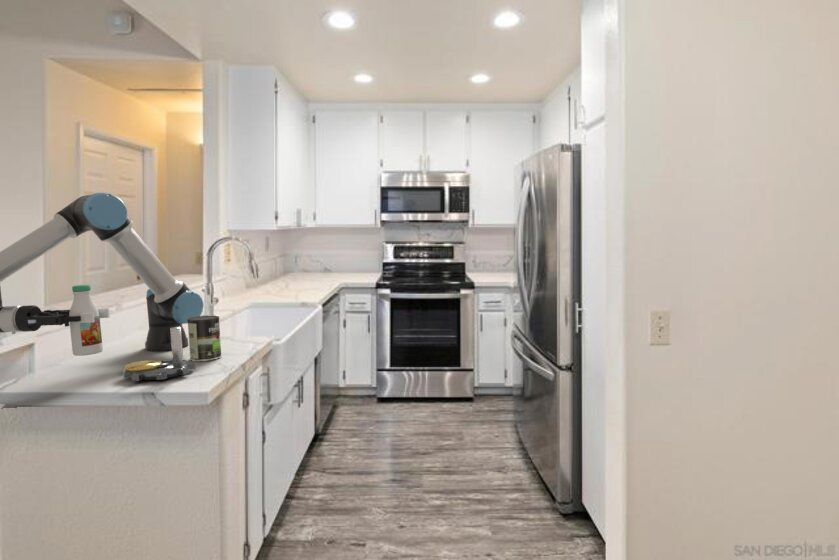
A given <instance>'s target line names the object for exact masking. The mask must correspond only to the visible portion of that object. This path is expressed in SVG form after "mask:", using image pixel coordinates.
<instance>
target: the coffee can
mask: <svg viewBox="0 0 839 560" xmlns="http://www.w3.org/2000/svg"><path fill="white" fill-rule="evenodd" d="M187 321H188V323H187V328H188V346H189V361H191V360H192V361H191V362H195V361H203V362H208V361H207V360H212V361H214V360H213V359H216V360H219V359H221V358H222V357H223V356H222V346H221V344H222V343H221V331H220V330H221V328H220V316H218V315H200V316H199V317H192V318H189V319H187ZM220 357H221V358H220ZM218 358H219V359H218Z"/></svg>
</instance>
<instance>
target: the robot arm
mask: <svg viewBox="0 0 839 560" xmlns="http://www.w3.org/2000/svg"><path fill="white" fill-rule="evenodd" d="M132 224H133V219H132V218H131V217H130V216H129V214H128V208H127V206H126V204H125V202H124V201H123V200H122V199H121V198H120V197H118V196H117V195H115V194H111V193H107V192H97V193H93V194H86V195H83V196H80V197H78V198H76V199H75V200H73V201H72V202H71V203H69V204H68V205H66V206H65V207H63V208H62V209H61V210H59V211H58V212H56V213H54V214H53V218H52V219H50V220H49V221H47V222H45V223H44V224H42V225H41V226H39V227H38V228H37V229H35V230H33V231H32V232H30V233H28V234H27V235H25V236H24V237H22V238H20V239H18V240H17V241H15V242H14V243H12V244H10V245H9V246H7V247H6V248H4V249H2V250H0V283H1V282H3V281H5V280H6V279H7V278H9V277H11V276H12V275H13V274H15V273H17V272H18V271H20V270H22V269H23V268H25V267H26V266H28V265H29V264H31V263H33V262H34V261H36V260H37V259H39V258H40V257H41V256H43V255H45V254H46V253H48V252H50V251H52V250H53V249H54V248H56V247H57V246H59V245H61V244H62V243H64V242H66V241H67V240H68V239H69V238H71V239H75V238H77V237H78V236H80V235H83V234H84V233H87V232H90V231H92V232H93V233H94V234H95V236H97V238H98V239H99V240H100V241H101V242H104V243H105V242H108V243H109V244H110V245H111V246H112V247H113V248H114V250H115V251H116V252H117V254H119V255H120V257H121V258H122V259H123V260H124V261H125V262H126V263H127V265H128V266H129V267H130V268H131V269H132V270H133V271H134V272H135V274H136V275H137V276H138V277H139V278H140V280H141V281H142V282H143V283H144V284H145V285H146V286H147V288H148V289H147V291H146V297H145V300H146V306H147V319H148V331H147V335H146V339H145V340H146V341H145V343H144V347H145V350H146V351H148V352H149V351H152V352H160V351H161V352H164V351H172V346H171V332H170V328H172V327H181V335H182V349H183V348H186V347H188V346H189V337H187V334H186V332H185V329H184V326H183V324H184V325H185V324H188V321H187V319H189V318H192V317H199V316H202V313H203V311H204V300H203V298H202V296H201V295H200V294H199V293H198V292H195V291H194V290H193V291H192V290H191V289H190V288H189V287H188V286H187V285H186V283H185V282H184V281H183V280H181V279H176V278H175V277H174V276H173V274H171V272H170V271H169V270H168V269H167V268H166V266H165V265H164V264H163V263H162V262H161V260H160V259H159V258H158V257H157V256H156V254H155V253H154V252H153V251H152V250H151V249H150V247H149V246H148V245H147V243H145V241H144V240H143V239H142V238H141V237H140V235H139V234H138V233H137V232H136V230H135V229H134V228H133V227H132ZM97 309H98V312H99V317H100V319H107V318H110V308H109V307H106V308H97ZM69 313H70V309H53V310H51V309H46V310H43V311H42V309H41V308H40V307H39V306H37V305H30V304H29V305H6V306H3V297H2V289H1V286H0V334H1V333H11V334H12V335H15V334H16V333H20V332H22V333H23V332H36V331H39V329H40V328H41V326H62V325H64V327H70V324H73V323H94V322H95V320H94V313H76V314H69Z"/></svg>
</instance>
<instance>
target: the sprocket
mask: <svg viewBox="0 0 839 560" xmlns="http://www.w3.org/2000/svg"><path fill="white" fill-rule="evenodd" d="M170 332H171V346H172V350H171V358H172V359H171V360H158V359H157V360H156V359H153V360H152V359H151V360H150V359H149V360H147V359H146V360H140V361H135V362H130V363H128V364H127V363H126V365H124V370H123V378H124V379H126V378H131V381H137V382H139V381H142V380H143V381H149V380H157V381H159V380H166V379H168V378H173V377H177V376H184V375H187V374H190V372H191V371H190V370H195V369H196V367H195V365H196V364H195V361H190V362H187V360H186V359H184V354H183V353H184V352H183V351H184V350H183V348H182V335H181V327H172V328H170Z"/></svg>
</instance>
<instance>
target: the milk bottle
mask: <svg viewBox="0 0 839 560" xmlns="http://www.w3.org/2000/svg"><path fill="white" fill-rule="evenodd" d="M71 289H72V294H73V301H72V304H71V306H70V308H69V310H70V313H69V314H76V313H94V320H95V322H94V323H73V324H70V323H69V331H70V341H71V349H72V350H71V352H72V355H73V356H74V357H75V356H79V357H81V356H82V357H84V356H85V357H86V356H91V355H96V354H100V353H102V352H103V349H104V348H103V347H104V346H103V337H102V336H103V335H102V329H101V328H102V327H101V318H100V317H99V312H98V309H99V308H98V306H97V305H96V304H95V302H94V300H93V298H92V295H91V292H92V291H91V285H90V284H80V285H79V284H78V285H72V287H71Z"/></svg>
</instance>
